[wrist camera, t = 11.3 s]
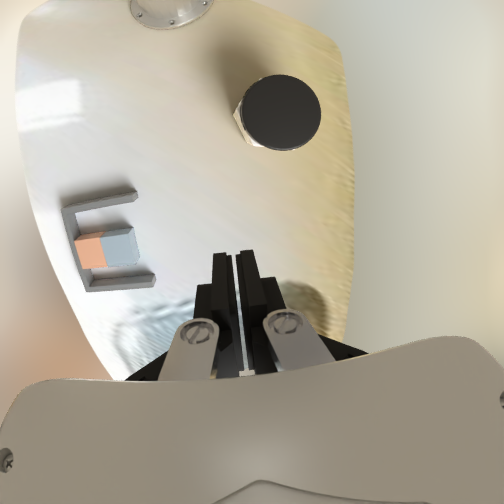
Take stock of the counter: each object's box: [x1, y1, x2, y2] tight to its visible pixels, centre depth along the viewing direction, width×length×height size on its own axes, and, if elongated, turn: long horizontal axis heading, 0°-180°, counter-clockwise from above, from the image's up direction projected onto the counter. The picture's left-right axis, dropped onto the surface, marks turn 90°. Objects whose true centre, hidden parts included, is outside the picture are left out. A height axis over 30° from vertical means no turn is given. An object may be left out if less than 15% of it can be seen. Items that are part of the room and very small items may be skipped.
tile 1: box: [100, 228, 140, 267], centre depth 39 cm, size 5×5×3 cm
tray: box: [61, 191, 156, 292], centre depth 39 cm, size 15×13×2 cm
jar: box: [233, 75, 321, 151], centre depth 30 cm, size 9×8×12 cm
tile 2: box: [74, 231, 108, 269], centre depth 39 cm, size 5×5×3 cm
